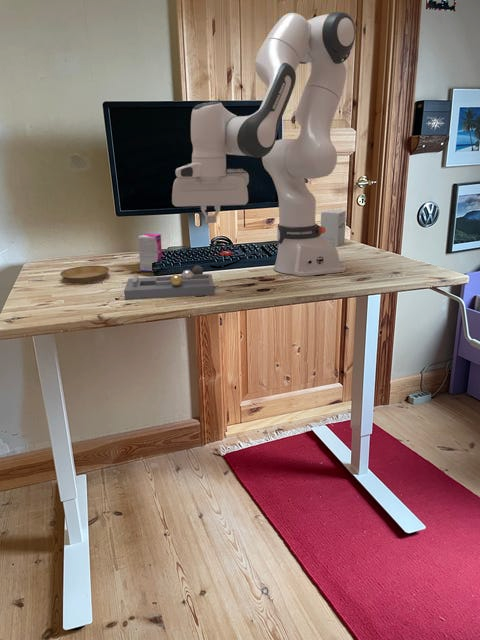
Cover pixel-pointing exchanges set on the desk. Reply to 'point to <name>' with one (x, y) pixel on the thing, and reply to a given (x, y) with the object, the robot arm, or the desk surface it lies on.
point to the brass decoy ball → (176, 280)
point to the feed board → (168, 287)
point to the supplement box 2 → (334, 226)
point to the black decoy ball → (197, 270)
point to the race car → (225, 253)
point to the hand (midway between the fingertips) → (210, 222)
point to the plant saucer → (85, 274)
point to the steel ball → (187, 275)
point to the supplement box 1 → (149, 250)
